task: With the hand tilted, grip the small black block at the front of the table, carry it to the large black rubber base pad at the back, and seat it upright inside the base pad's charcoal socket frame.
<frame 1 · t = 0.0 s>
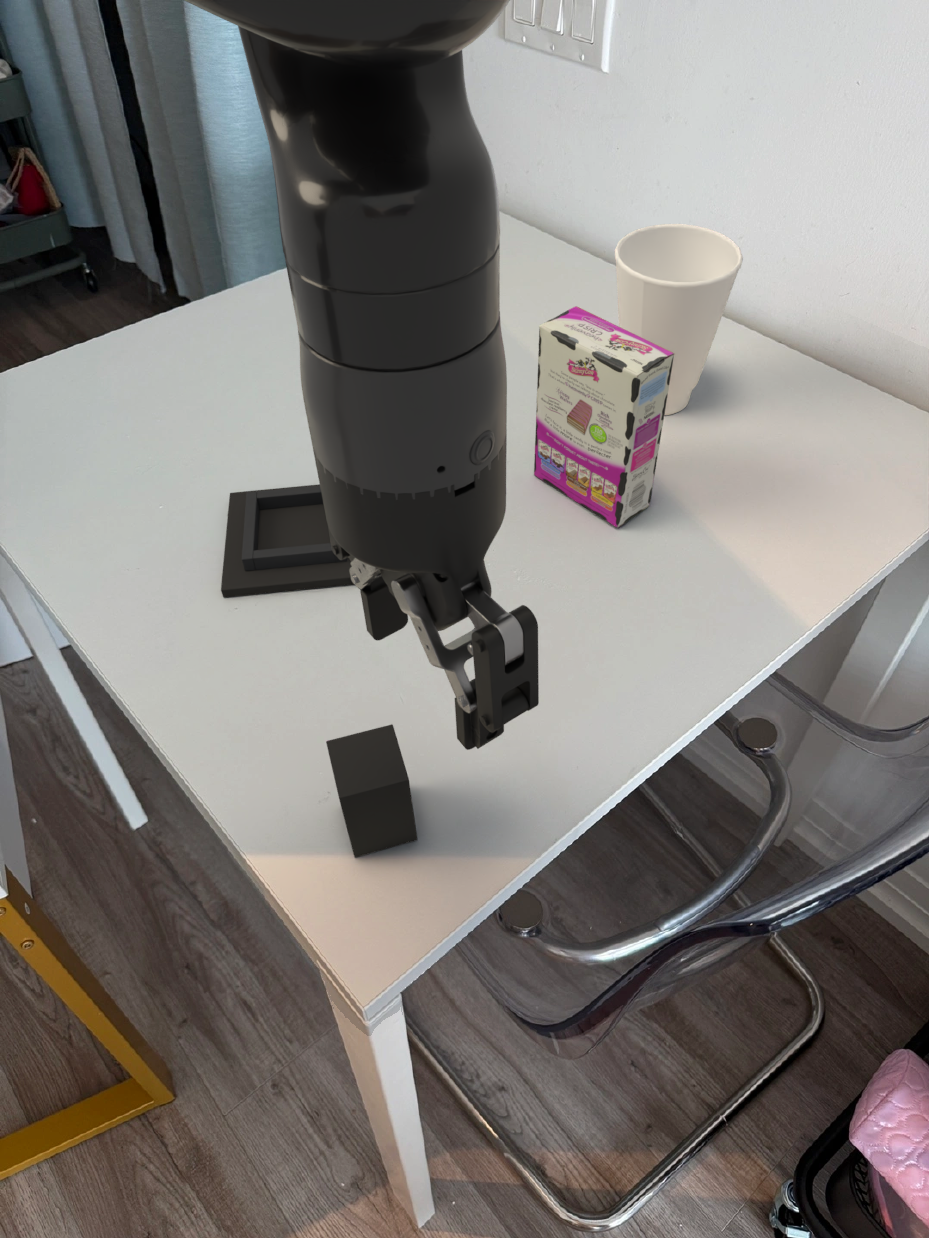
hand: (432, 681, 47), 20 cm above the table, tool pointing down, fingers open, 8 cm apart
cup: (656, 397, 97), on the table
candy bar box: (590, 491, 87), on the table
black block: (379, 821, 64), on the table
base pad: (298, 539, 84), on the table
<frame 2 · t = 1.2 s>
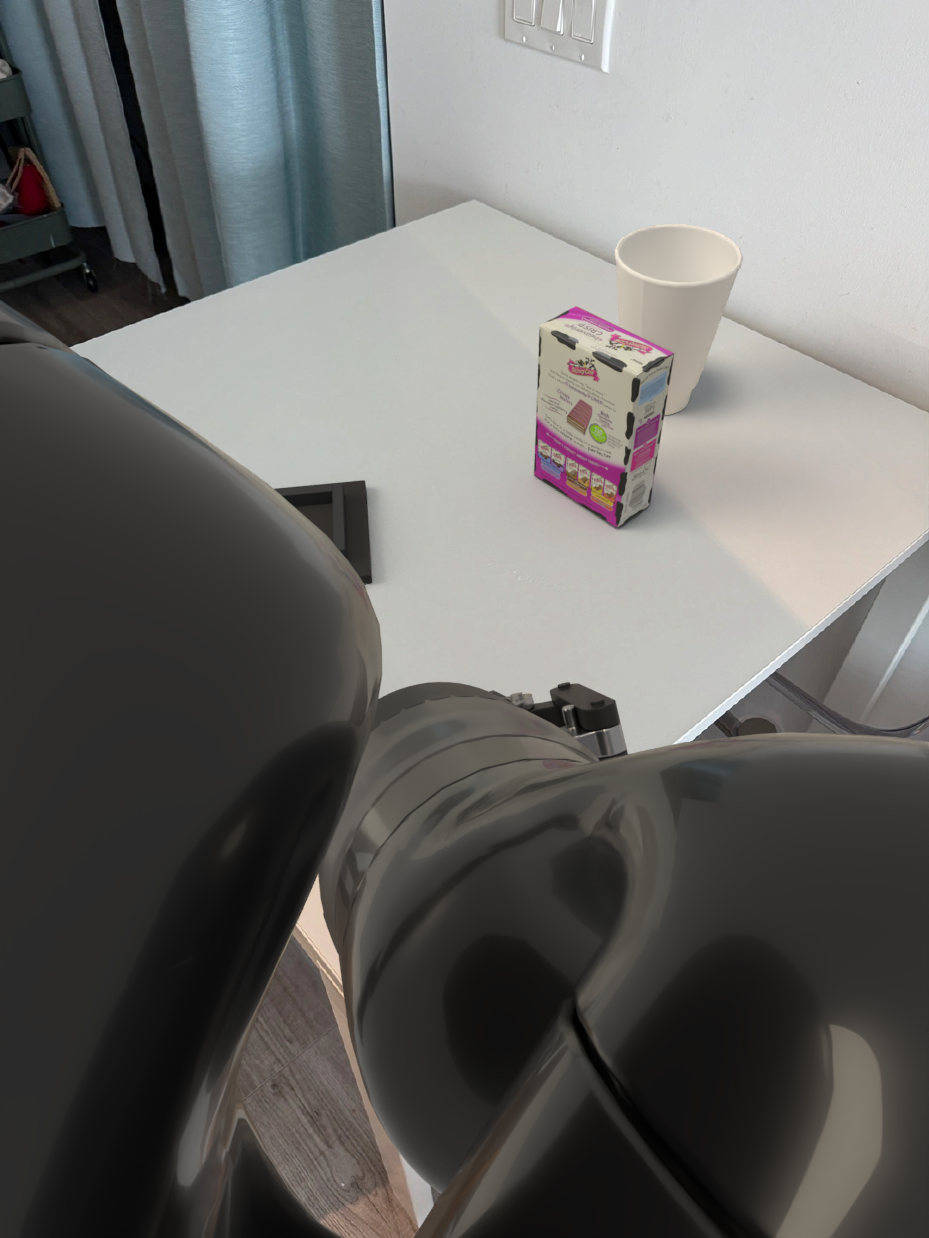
hand: (395, 741, 39), 25 cm above the table, tool tilted 45°, fingers open, 8 cm apart
nothing on the table moved.
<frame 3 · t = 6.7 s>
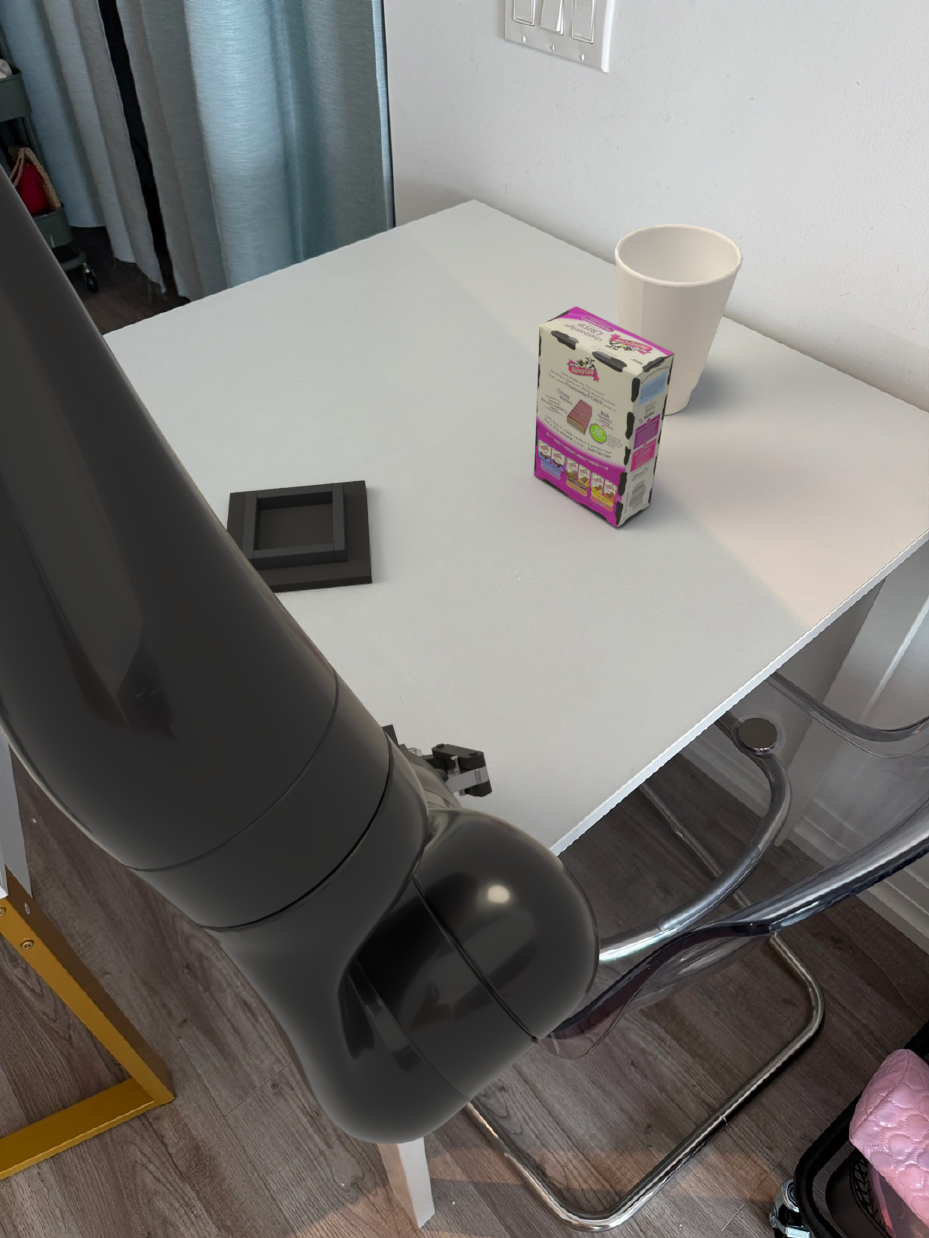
hand: (366, 768, 62), 4 cm above the table, tool tilted 45°, fingers closed on black block, 4 cm apart
black block: (378, 821, 64), on the table, touching gripper
everything else where it was.
when the fingers open (5 cm above the table, at t = 19.6 s): black block stays where it is, resting on base pad.
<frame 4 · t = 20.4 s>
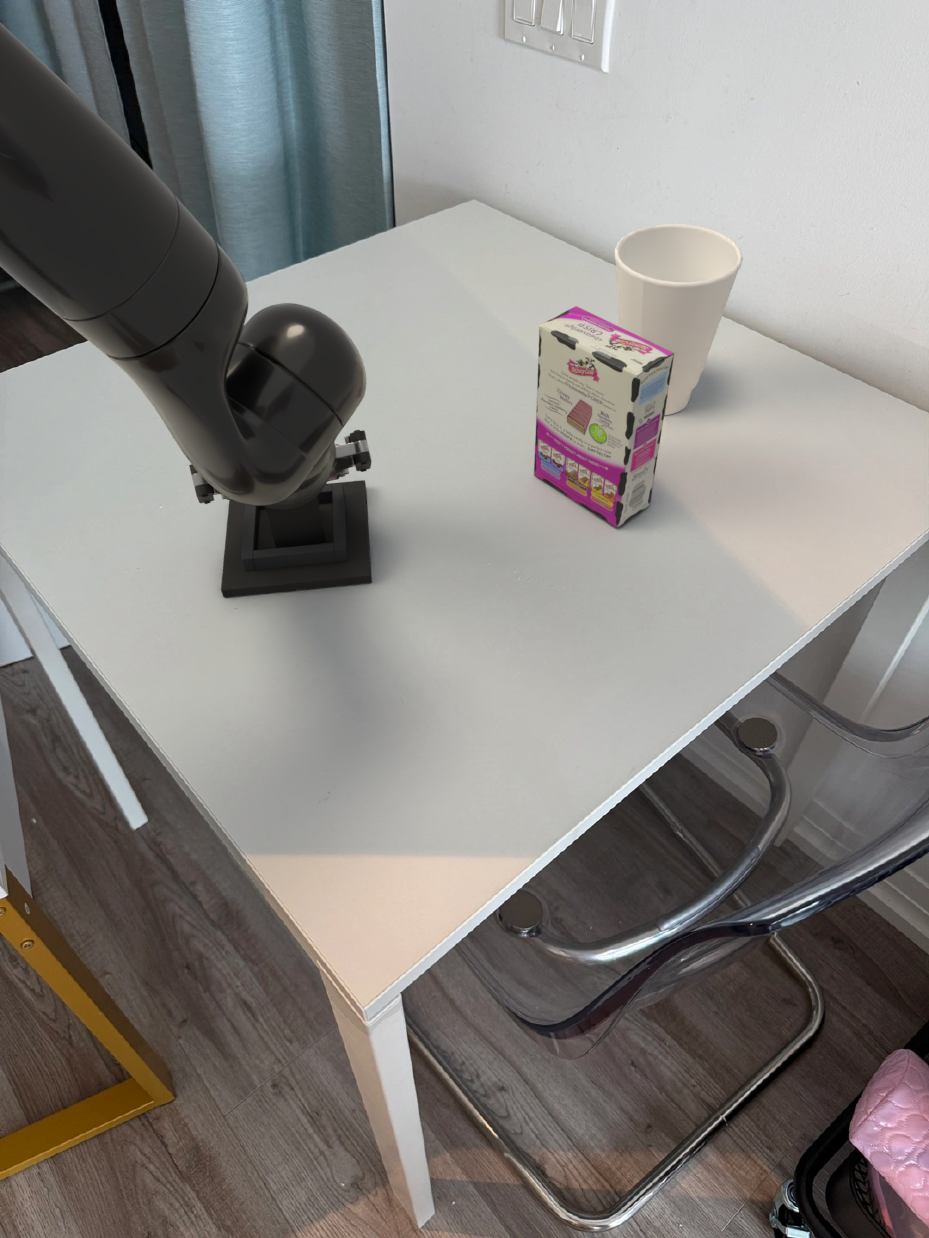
hand: (284, 478, 80), 6 cm above the table, tool tilted 45°, fingers open, 8 cm apart
black block: (297, 531, 83), point 1 cm above the table, touching base pad
everything else where it was.
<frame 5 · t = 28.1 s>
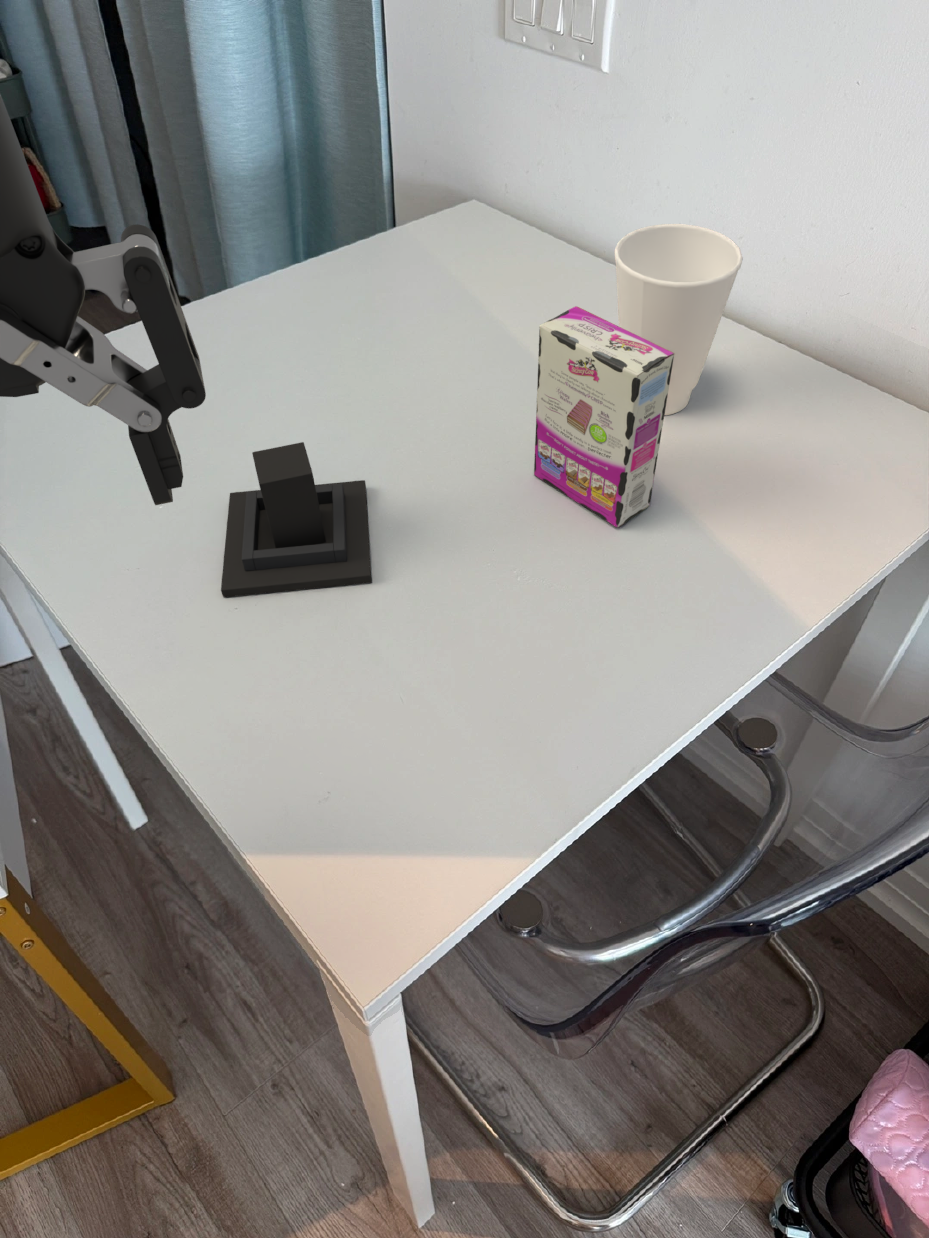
hand: (56, 513, 37), 33 cm above the table, tool pointing down, fingers open, 8 cm apart
nothing on the table moved.
at the end: black block 0.1 cm off-centre on the base pad, point 1.0 cm above the base pad's base; black block tilted 0°; the gripper is holding nothing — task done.
